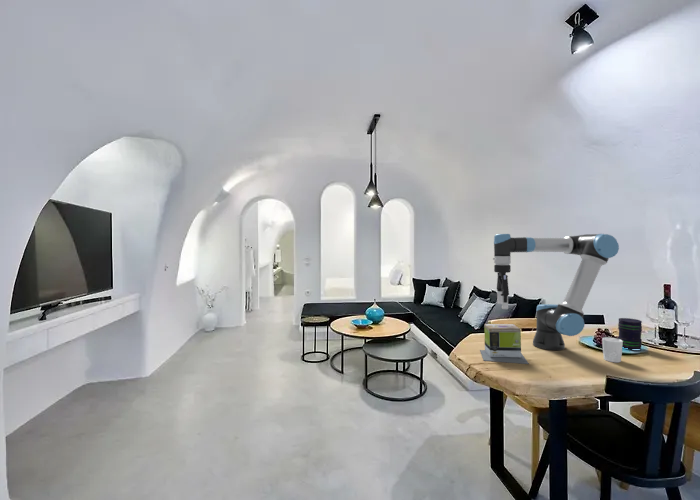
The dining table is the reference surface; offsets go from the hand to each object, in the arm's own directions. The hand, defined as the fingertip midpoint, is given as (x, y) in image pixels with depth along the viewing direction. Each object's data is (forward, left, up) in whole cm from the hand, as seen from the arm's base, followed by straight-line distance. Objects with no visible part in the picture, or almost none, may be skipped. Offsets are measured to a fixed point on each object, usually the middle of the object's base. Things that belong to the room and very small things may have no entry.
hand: (502, 306), depth 174 cm
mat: (0, +3, -25) cm, 25 cm away
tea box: (0, 0, -25) cm, 25 cm away
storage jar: (-68, -28, -25) cm, 78 cm away
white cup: (-50, -4, -25) cm, 56 cm away
